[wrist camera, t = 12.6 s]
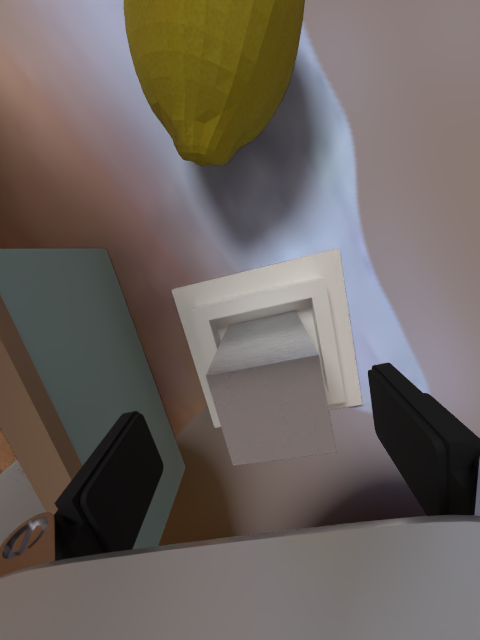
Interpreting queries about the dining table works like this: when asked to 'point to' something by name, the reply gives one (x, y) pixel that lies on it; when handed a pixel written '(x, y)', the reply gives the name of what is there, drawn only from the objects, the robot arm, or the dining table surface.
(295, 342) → the block
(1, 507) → the supplement box
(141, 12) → the lemon
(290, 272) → the cradle
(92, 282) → the door board
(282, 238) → the dining table surface
